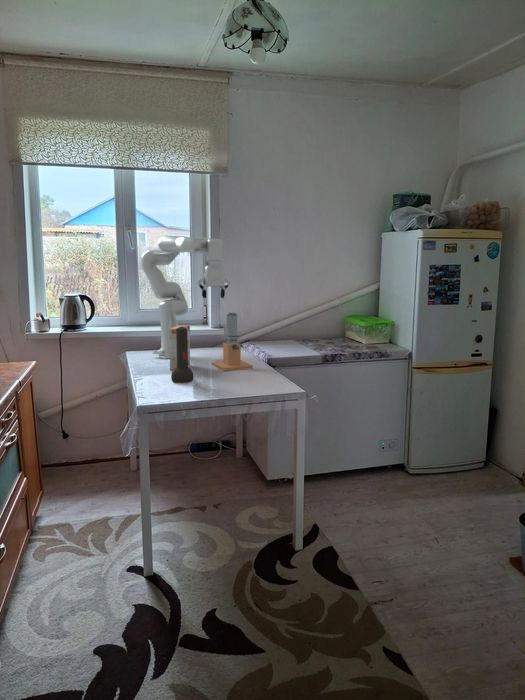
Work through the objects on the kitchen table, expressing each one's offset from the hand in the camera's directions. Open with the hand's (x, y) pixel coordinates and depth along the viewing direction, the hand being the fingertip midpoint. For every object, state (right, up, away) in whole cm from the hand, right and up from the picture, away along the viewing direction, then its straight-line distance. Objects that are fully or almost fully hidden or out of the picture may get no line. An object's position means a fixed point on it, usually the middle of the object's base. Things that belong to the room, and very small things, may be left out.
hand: (213, 297), depth 257 cm
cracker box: (-16, -36, -3) cm, 39 cm away
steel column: (+9, -27, 0) cm, 29 cm away
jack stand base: (+9, -35, +1) cm, 36 cm away
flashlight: (-11, -41, -29) cm, 51 cm away
